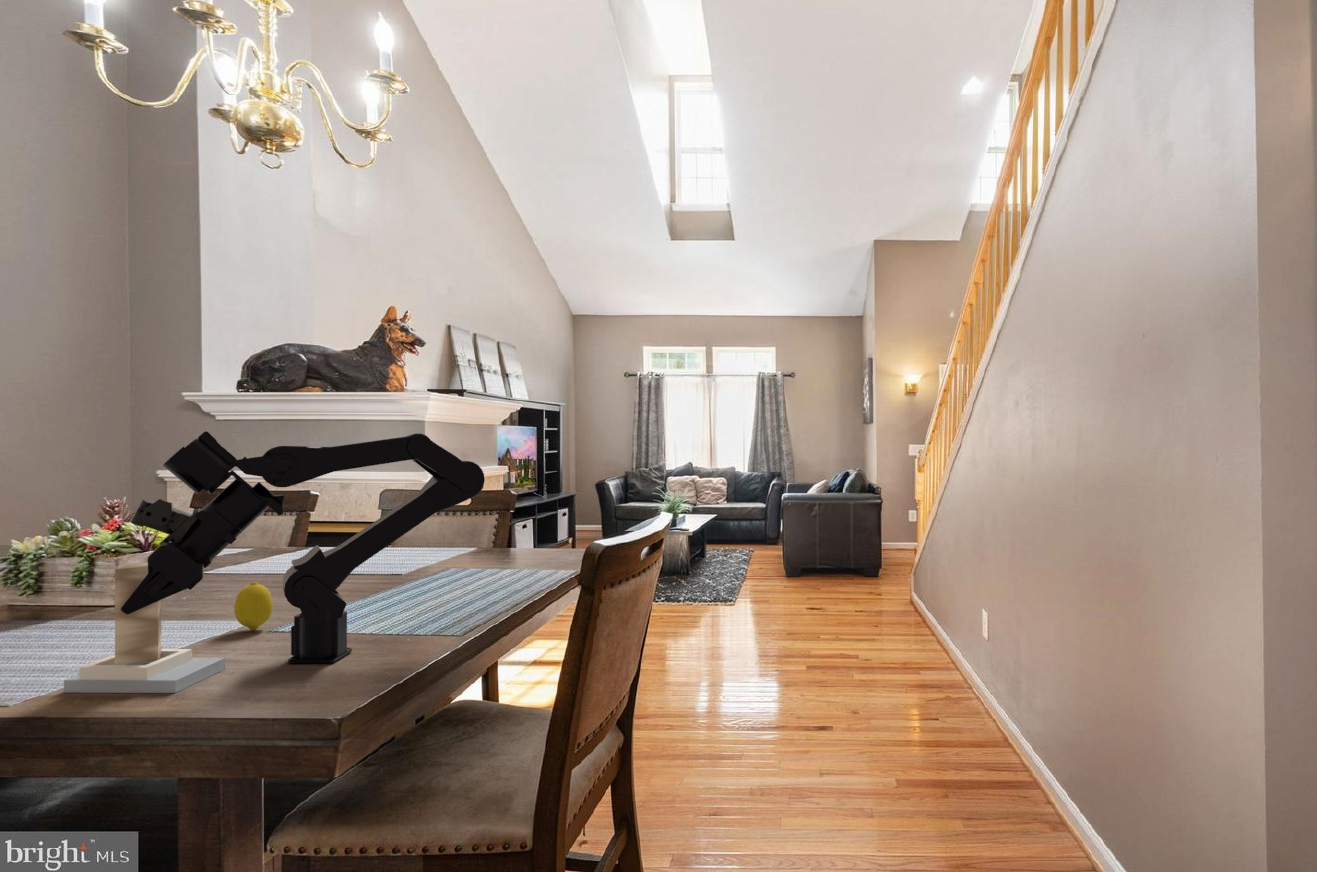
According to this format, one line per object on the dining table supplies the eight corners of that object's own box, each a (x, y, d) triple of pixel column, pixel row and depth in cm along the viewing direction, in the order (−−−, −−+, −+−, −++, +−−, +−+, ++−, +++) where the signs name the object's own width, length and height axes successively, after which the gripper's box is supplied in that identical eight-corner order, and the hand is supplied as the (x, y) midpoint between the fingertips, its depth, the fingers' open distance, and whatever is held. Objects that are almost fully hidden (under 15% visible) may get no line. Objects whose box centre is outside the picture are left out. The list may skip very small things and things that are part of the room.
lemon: (230, 630, 123) (230, 581, 123) (267, 625, 127) (267, 577, 127) (239, 636, 119) (239, 586, 119) (276, 630, 123) (276, 582, 123)
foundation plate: (225, 668, 101) (225, 646, 101) (175, 692, 91) (175, 668, 91) (124, 668, 102) (124, 646, 102) (63, 692, 92) (64, 667, 92)
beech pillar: (161, 651, 99) (161, 561, 99) (158, 660, 95) (158, 566, 96) (119, 656, 97) (120, 564, 97) (114, 665, 93) (115, 569, 93)
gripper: (180, 474, 107) (83, 558, 101) (170, 479, 90) (54, 578, 85) (243, 526, 110) (153, 610, 105) (244, 539, 94) (138, 639, 89)
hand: (126, 608), depth 96 cm, fingers closed on beech pillar, 4 cm apart
